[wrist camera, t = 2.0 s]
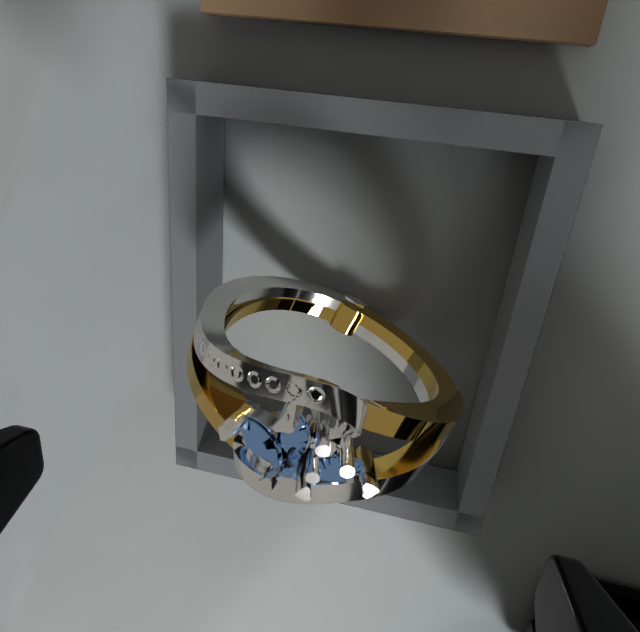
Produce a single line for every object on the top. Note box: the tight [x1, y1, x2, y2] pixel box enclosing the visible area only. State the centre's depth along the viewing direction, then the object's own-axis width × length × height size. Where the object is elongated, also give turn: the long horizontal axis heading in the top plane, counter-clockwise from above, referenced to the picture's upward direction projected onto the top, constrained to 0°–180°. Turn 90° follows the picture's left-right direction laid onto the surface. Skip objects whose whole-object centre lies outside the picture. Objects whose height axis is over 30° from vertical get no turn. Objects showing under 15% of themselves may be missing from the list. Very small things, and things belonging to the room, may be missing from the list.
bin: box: [167, 78, 603, 536], centre depth 16 cm, size 11×13×2 cm
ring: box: [186, 276, 464, 504], centre depth 13 cm, size 7×3×8 cm, turn 65°
